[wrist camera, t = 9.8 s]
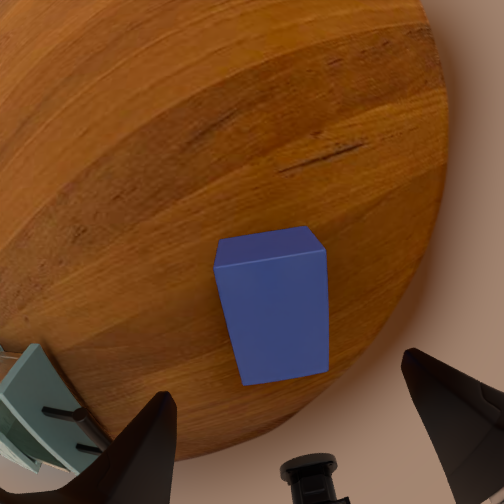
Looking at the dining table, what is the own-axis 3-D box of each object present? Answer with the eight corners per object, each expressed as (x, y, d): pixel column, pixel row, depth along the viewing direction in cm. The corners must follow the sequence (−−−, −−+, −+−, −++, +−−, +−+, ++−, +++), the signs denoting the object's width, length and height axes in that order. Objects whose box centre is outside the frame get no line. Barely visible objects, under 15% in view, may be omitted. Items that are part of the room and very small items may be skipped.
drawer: (83, 343, 16) (46, 405, 10) (151, 443, 20) (140, 494, 15) (-33, 338, 16) (-61, 369, 10) (23, 419, 20) (6, 450, 15)
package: (306, 224, 14) (326, 248, 11) (314, 332, 17) (328, 371, 14) (218, 239, 14) (212, 267, 11) (242, 344, 17) (243, 386, 14)
